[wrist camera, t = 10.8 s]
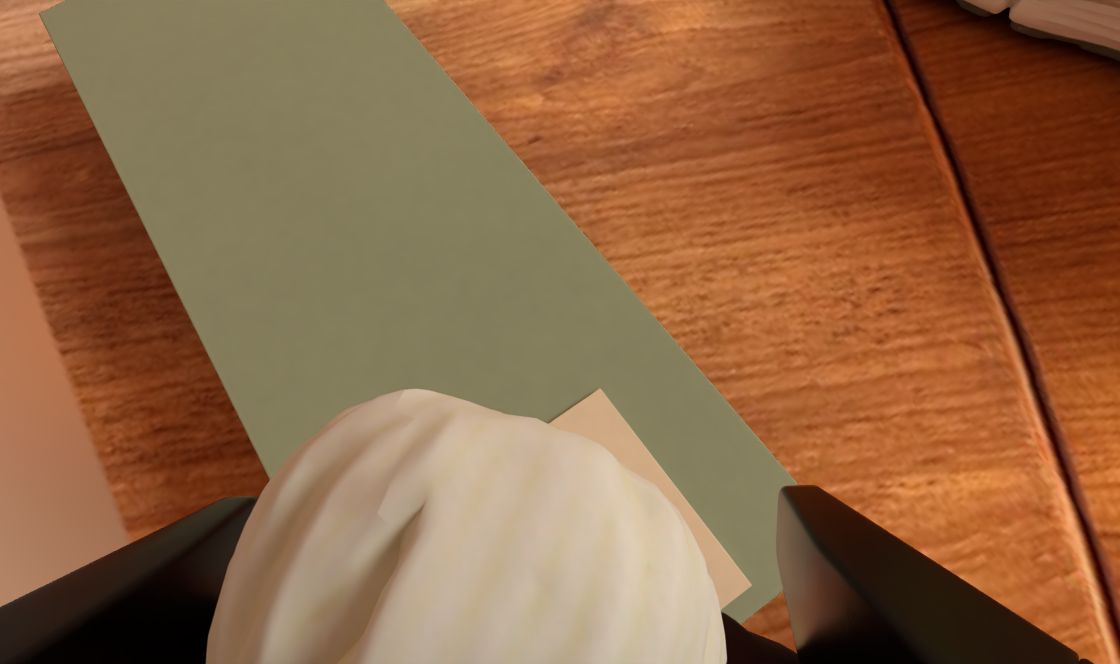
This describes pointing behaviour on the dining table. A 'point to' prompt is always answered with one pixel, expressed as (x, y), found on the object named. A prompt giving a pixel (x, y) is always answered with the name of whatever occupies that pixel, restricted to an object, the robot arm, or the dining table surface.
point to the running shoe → (1061, 21)
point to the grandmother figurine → (467, 552)
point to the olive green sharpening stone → (393, 251)
